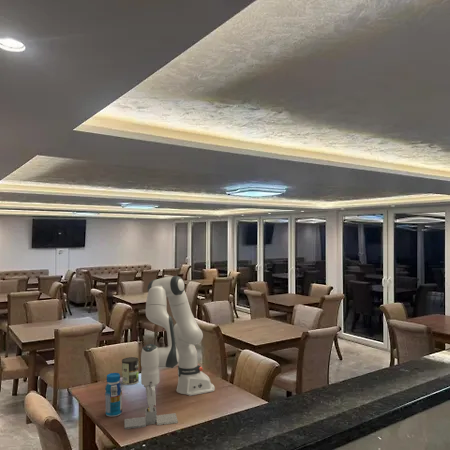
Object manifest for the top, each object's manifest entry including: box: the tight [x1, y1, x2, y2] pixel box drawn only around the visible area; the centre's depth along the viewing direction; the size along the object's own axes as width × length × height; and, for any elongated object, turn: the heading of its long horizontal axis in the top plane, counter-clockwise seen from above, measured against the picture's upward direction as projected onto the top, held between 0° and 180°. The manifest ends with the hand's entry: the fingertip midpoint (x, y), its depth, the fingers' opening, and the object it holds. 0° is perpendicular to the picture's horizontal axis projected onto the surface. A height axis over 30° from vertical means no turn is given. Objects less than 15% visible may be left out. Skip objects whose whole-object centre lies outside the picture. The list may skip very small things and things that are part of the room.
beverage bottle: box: [104, 372, 123, 418], centre depth 216 cm, size 8×8×20 cm
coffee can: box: [121, 356, 140, 386], centre depth 263 cm, size 10×10×14 cm
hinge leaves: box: [124, 406, 179, 430], centre depth 206 cm, size 25×9×6 cm, turn 103°
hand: (150, 407), depth 206 cm, fingers open, 8 cm apart
